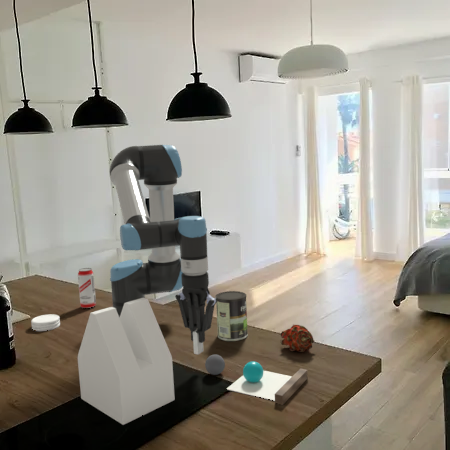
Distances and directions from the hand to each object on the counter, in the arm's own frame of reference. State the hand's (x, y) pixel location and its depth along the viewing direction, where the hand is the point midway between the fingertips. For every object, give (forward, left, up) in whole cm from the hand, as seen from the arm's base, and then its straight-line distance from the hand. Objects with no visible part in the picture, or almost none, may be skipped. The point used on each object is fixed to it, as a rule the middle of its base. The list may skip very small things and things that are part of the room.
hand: (198, 352), depth 144 cm
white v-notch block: (+23, -7, -6) cm, 25 cm away
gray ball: (+1, +6, -2) cm, 6 cm away
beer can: (-30, -76, -5) cm, 81 cm away
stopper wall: (0, +29, -5) cm, 29 cm away
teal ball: (0, +18, -2) cm, 18 cm away
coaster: (-6, -73, -6) cm, 73 cm away
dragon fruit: (-25, +19, -5) cm, 32 cm away
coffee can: (-27, -5, -5) cm, 28 cm away
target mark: (0, +20, -5) cm, 21 cm away
